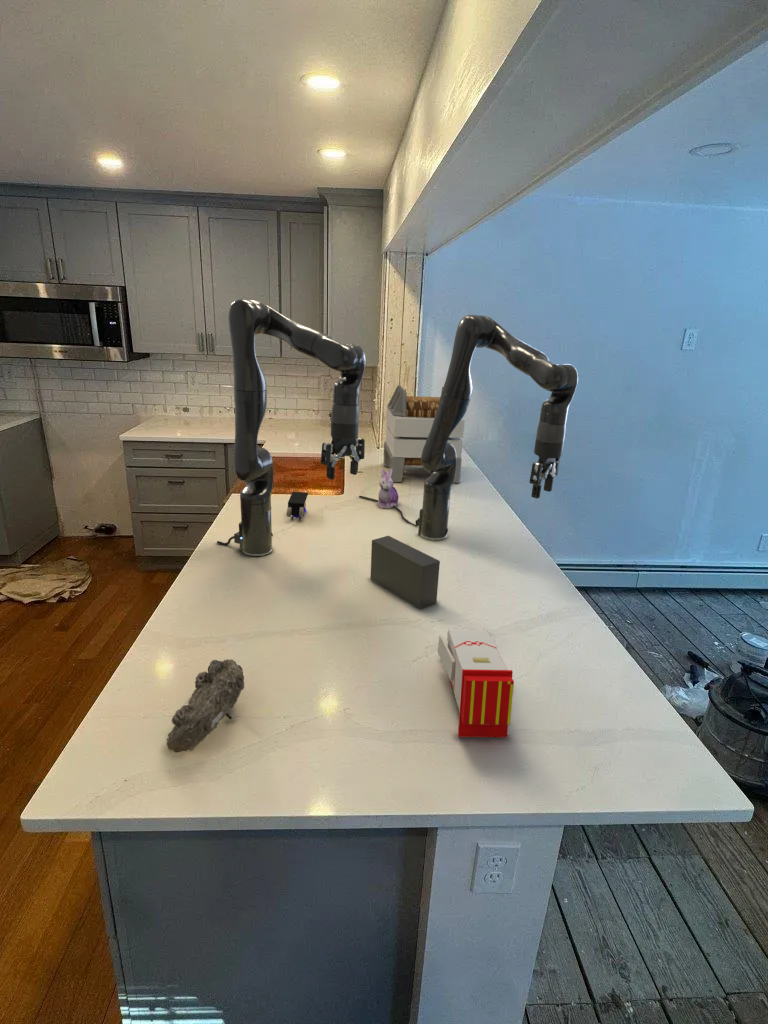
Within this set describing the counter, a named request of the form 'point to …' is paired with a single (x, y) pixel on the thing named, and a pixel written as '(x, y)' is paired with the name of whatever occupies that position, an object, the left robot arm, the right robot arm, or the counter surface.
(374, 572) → the box
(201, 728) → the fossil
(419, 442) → the transformer
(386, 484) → the figurine
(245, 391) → the left robot arm
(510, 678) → the toy
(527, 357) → the right robot arm
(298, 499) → the figurine character
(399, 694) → the counter surface
